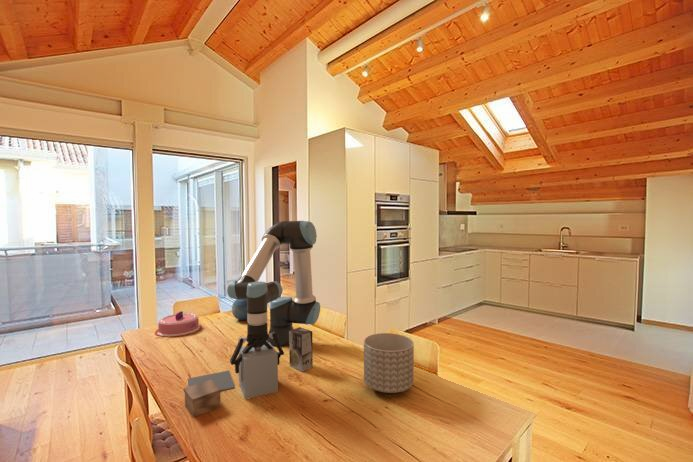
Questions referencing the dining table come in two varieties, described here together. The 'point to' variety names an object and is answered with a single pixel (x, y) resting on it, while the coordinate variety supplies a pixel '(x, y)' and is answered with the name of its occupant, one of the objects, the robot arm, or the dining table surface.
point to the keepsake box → (202, 397)
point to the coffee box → (300, 349)
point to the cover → (259, 371)
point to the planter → (388, 362)
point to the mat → (214, 380)
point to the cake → (178, 325)
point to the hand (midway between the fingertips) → (257, 377)
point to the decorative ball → (240, 309)
